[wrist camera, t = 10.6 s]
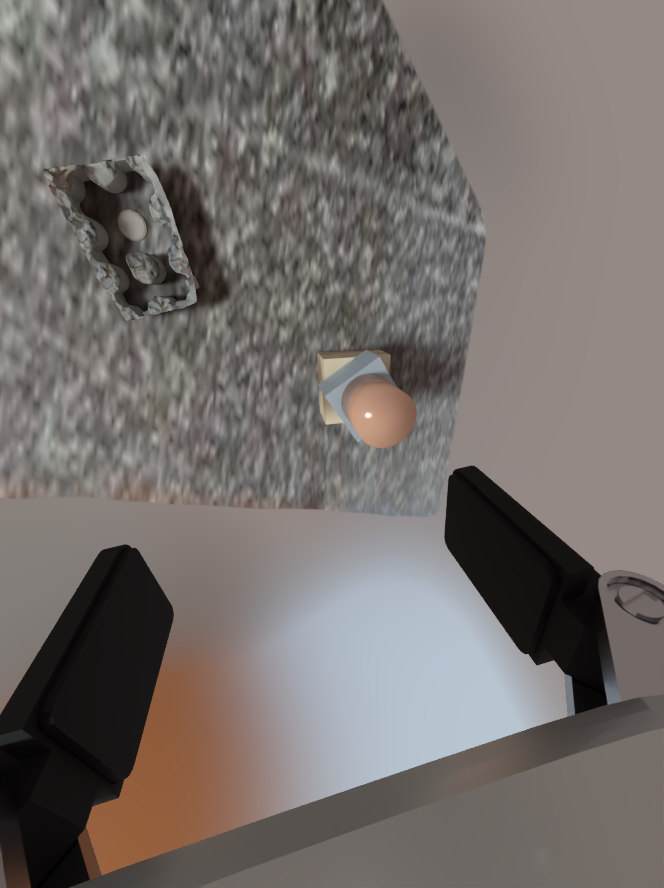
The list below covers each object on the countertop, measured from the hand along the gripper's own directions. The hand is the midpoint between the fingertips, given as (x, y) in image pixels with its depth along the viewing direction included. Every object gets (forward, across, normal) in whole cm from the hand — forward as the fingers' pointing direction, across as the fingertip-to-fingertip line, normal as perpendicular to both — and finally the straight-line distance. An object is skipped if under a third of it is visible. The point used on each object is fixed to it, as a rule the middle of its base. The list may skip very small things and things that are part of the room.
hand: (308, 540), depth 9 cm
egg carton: (+28, +9, -11) cm, 31 cm away
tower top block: (+23, -8, +4) cm, 25 cm away
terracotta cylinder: (+19, -8, +4) cm, 21 cm away
